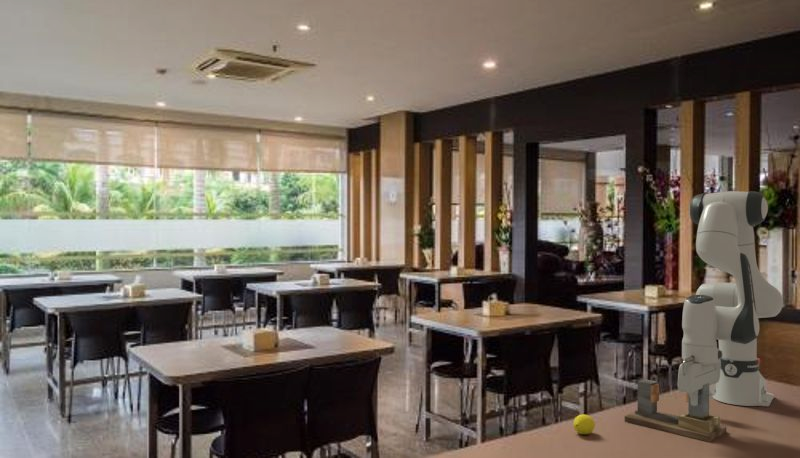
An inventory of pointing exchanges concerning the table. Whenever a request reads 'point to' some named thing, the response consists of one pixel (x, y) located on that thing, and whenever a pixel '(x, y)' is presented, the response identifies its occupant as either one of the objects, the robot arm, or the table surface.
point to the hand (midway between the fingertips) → (699, 403)
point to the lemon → (584, 424)
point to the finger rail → (671, 416)
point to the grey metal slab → (700, 403)
